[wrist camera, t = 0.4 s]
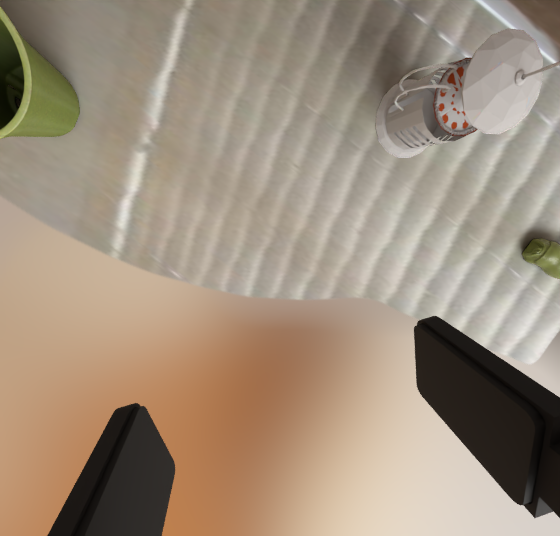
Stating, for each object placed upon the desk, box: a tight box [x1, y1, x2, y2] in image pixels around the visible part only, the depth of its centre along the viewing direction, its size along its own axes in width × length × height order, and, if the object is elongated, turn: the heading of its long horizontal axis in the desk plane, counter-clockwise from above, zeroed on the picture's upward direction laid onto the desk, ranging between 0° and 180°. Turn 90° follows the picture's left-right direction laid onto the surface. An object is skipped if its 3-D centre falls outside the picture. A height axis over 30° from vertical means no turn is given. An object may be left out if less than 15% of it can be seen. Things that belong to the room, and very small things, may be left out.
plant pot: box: [0, 7, 80, 139], centre depth 24 cm, size 12×12×11 cm
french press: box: [375, 28, 560, 158], centre depth 24 cm, size 10×12×25 cm
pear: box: [522, 238, 560, 279], centre depth 45 cm, size 6×5×10 cm
